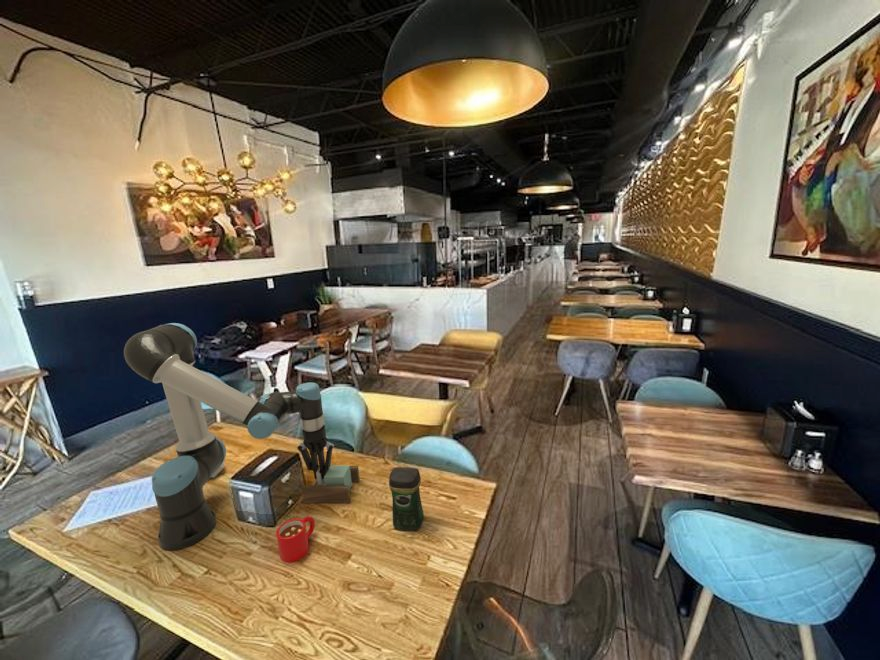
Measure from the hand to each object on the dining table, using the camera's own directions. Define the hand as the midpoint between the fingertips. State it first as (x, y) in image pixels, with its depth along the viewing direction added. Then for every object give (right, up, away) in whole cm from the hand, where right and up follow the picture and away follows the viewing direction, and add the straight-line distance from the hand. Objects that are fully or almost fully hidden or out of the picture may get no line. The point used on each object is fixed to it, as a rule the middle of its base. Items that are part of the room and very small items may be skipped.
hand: (321, 486), depth 134 cm
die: (-48, -1, +14) cm, 50 cm away
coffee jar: (+33, -5, -17) cm, 37 cm away
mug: (+1, -8, -24) cm, 25 cm away
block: (+7, -2, 0) cm, 7 cm away
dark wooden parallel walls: (+4, -2, 0) cm, 4 cm away
